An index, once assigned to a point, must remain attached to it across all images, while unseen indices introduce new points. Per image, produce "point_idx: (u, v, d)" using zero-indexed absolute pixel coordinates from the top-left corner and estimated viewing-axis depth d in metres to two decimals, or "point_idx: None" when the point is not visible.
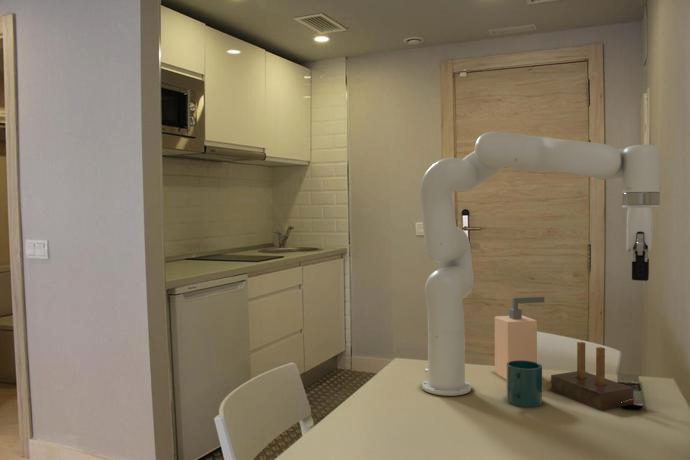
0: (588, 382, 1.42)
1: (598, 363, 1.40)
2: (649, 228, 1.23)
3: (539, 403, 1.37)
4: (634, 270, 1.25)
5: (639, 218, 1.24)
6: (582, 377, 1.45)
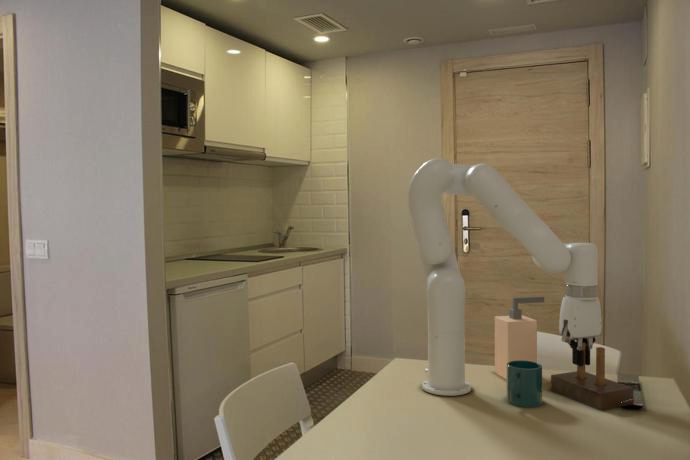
0: (588, 382, 1.42)
1: (598, 363, 1.40)
2: (571, 317, 1.42)
3: (539, 403, 1.37)
4: None
5: (565, 308, 1.44)
6: (582, 377, 1.45)
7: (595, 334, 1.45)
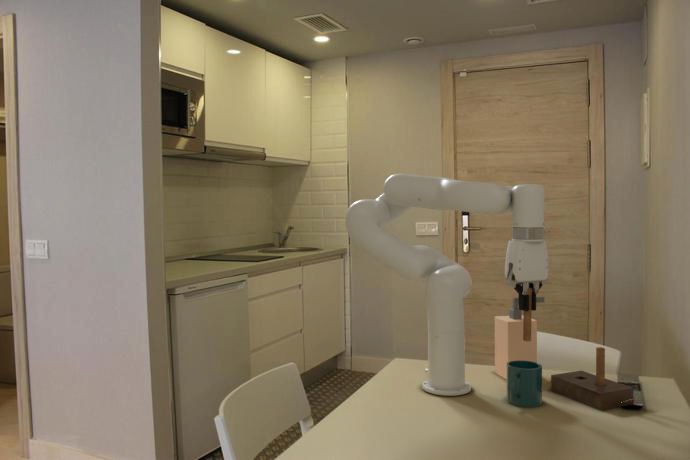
0: (588, 382, 1.42)
1: (598, 363, 1.40)
2: (516, 260, 1.38)
3: (539, 403, 1.37)
4: None
5: (511, 251, 1.39)
6: (528, 324, 1.41)
7: (542, 279, 1.40)
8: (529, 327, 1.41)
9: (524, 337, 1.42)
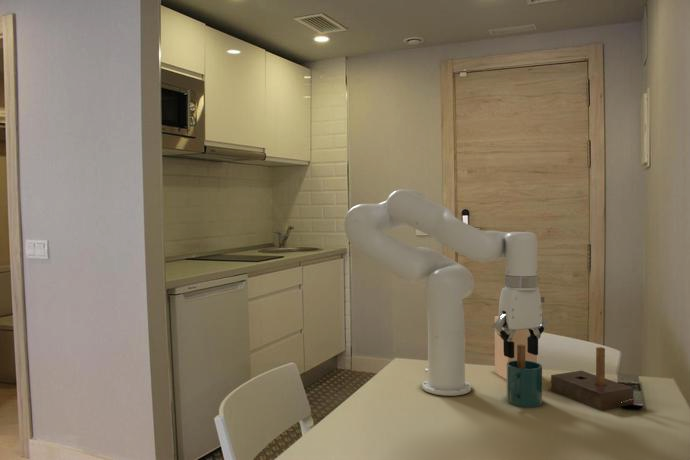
0: (588, 382, 1.42)
1: (598, 363, 1.40)
2: (509, 309, 1.38)
3: (539, 403, 1.37)
4: None
5: (504, 299, 1.39)
6: None
7: (535, 326, 1.40)
8: None
9: None
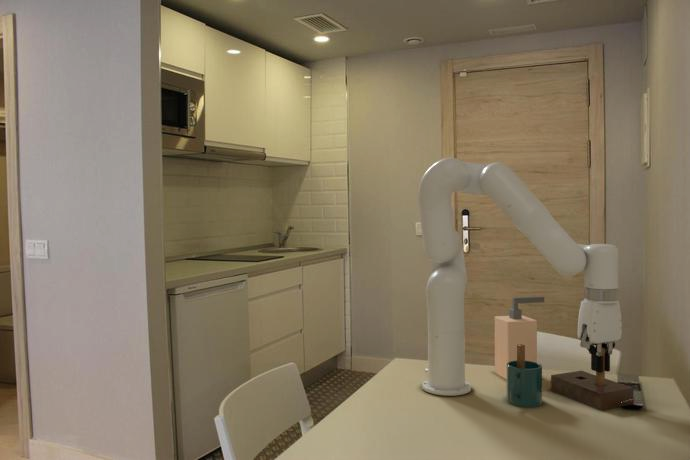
0: (588, 382, 1.42)
1: None
2: (591, 322, 1.36)
3: (539, 403, 1.37)
4: None
5: (584, 312, 1.38)
6: None
7: (615, 339, 1.39)
8: None
9: None
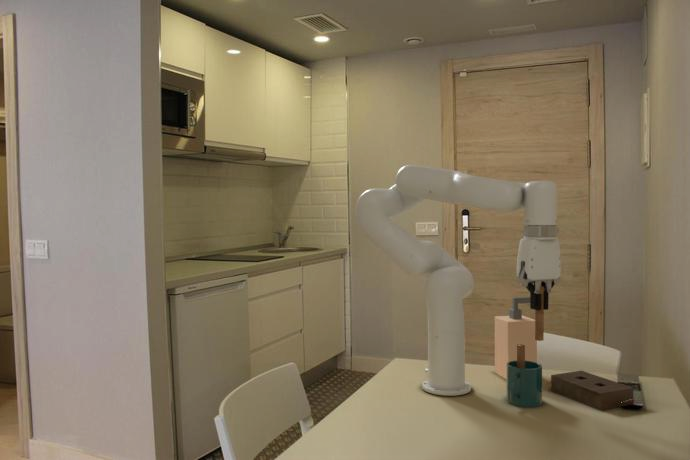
0: (588, 382, 1.42)
1: None
2: (528, 258, 1.35)
3: (539, 403, 1.37)
4: None
5: (523, 249, 1.37)
6: None
7: (554, 277, 1.38)
8: None
9: None
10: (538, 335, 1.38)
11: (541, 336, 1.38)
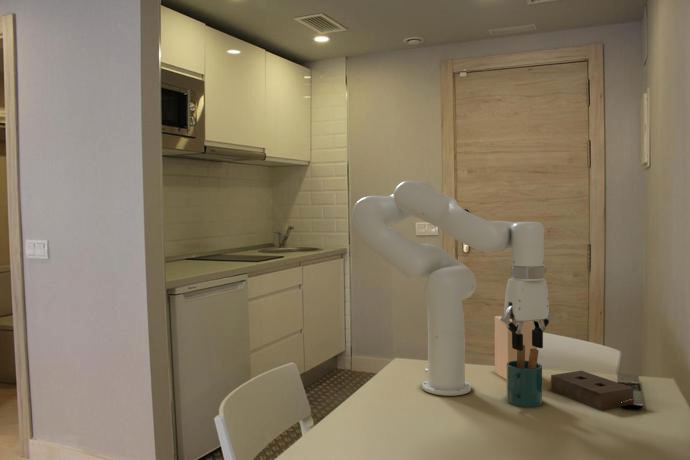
0: (588, 382, 1.42)
1: (530, 364, 1.37)
2: (516, 300, 1.35)
3: (539, 403, 1.37)
4: None
5: (510, 290, 1.37)
6: None
7: (542, 318, 1.38)
8: None
9: None
10: None
11: None
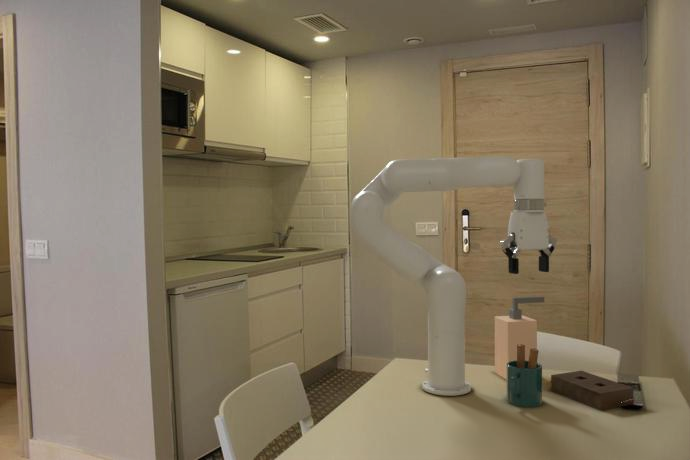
0: (588, 382, 1.42)
1: (530, 364, 1.37)
2: (518, 230, 1.46)
3: (539, 403, 1.37)
4: None
5: (513, 221, 1.48)
6: None
7: (542, 248, 1.49)
8: None
9: None
10: None
11: None
